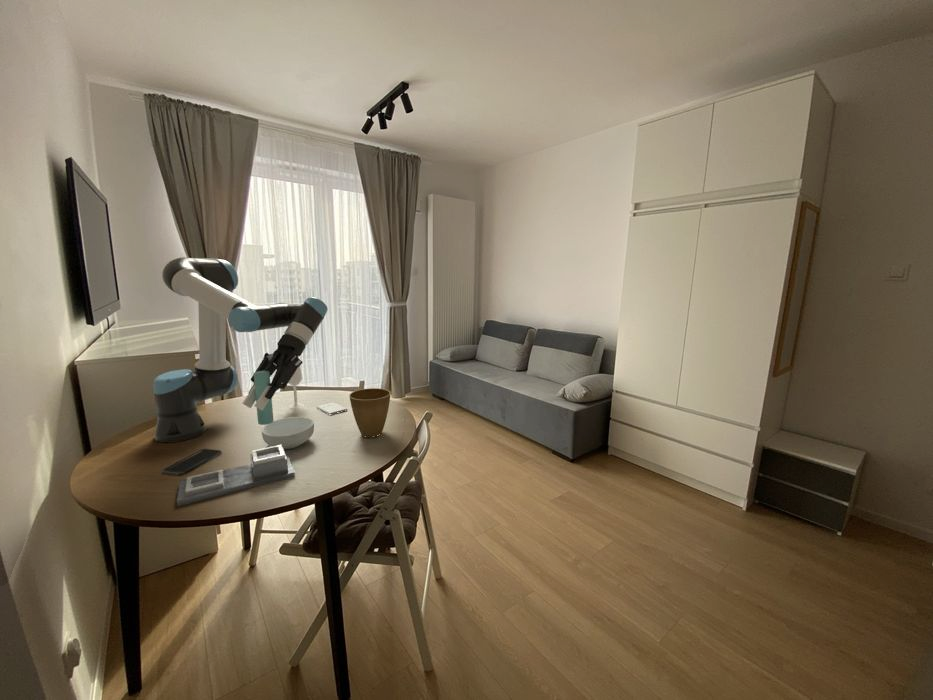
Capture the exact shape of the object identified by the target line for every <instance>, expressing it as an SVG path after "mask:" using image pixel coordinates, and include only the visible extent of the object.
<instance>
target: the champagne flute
mask: <svg viewBox="0 0 933 700" xmlns="http://www.w3.org/2000/svg"><path fill="white" fill-rule="evenodd" d="M299 357H300V356H298V358H299ZM299 359H300V358H299ZM302 380H303V375H302V369H301V365H300V366H299V367H298V368H297V370H296V371H295V373H294V374H293V376H292V378H291V379H290V381H289V382H288V385H290V386H292V387H293V389H292V390H293V401H294V402H293V403H292V404H290V405H289V406H288V407H289V408H299V409H301V408H300V407H302V408H304V407H305V405H304V404H303V403H301V402H298V394H297V393H298V392H297V386H298V385H299V384H300V383H301V382H302ZM303 406H304V407H303ZM289 408H288V409H289Z"/></svg>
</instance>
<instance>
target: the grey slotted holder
mask: <svg viewBox="0 0 933 700" xmlns="http://www.w3.org/2000/svg"><path fill="white" fill-rule="evenodd" d="M249 456H250V464H246V465H242V466H238V467H237V466H236V467H233V468H229V469H228V468H227V469H224V470H223V469H219V470H214V471H210V472H204V473H200V474H196V475H191V476H186V478H182V479H180V480H179V486H178V492H177V498H176V506H177V507H181V506H184V505H188V504H189V505H190V504H192V503H196V502H200V501H205V500H209V499H212V498H215V497H221V496H225V495H228V494H232V493H235V492H240V491H244V490H248V489H251V488H256V487H260V486H263V485H268V484H271V483H276V482H279V481H284V480H287V479H292V478H295V475H296V474H295V472H296V471H295V470H294V467H293V465H292V462H291V459H290V457H289V455H286V452H285V449H283V447H282V446H281V445H277V446H272V447H271V446H268V447H263V448H262V447H261V448H259V449H254V450H251V454H250V455H249Z"/></svg>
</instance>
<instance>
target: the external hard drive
mask: <svg viewBox="0 0 933 700" xmlns="http://www.w3.org/2000/svg"><path fill="white" fill-rule="evenodd" d="M317 408H318V409H317ZM316 409H317V410H319V409H320V410H319V411H321V410H322V411H321V412H323V411H324V412H323V413H325V412H326V413H328V414H333V415H335V414H334V413H337V412H341V411H345V410H347V411H348V408H346V407H344V406H342V405H340V404H338V403H336V402H329V403H324V404H320V405H317V406H316ZM345 412H346V411H345ZM326 413H325V414H326ZM341 413H342V412H341ZM328 414H327V415H328ZM337 414H338V413H337Z"/></svg>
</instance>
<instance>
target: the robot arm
mask: <svg viewBox="0 0 933 700" xmlns="http://www.w3.org/2000/svg"><path fill="white" fill-rule="evenodd" d="M162 280H163V283H164V284H165V286H166V287H167V288H168V289H169V290H170V291H172V292H173V293H175V294H176V295H179V296H181V297H189V298H191V299H193V300H194V301H196V302H197V303H198V307H197V308H198V343H199V344H198V347H199V348H198V353H199V354H198V355H199V356H198V357H199V360H197V361H196V362H195V363H194V371H192V370H191V369H187V368H186V369H184V368H183V369H182V368H181V369H177V370H176V369H175V370H171V371H167V372H164V373H162V374H160V375H158V376H156V377H155V378H154V379H153V381H152V382H153V383H152V386H153V390H152V391H153V392H152V393H153V395H154V402H155V406H156V407H155V408H156V414H157V420H156V424H155V429H154V433H153V434H154V435H153V436H154V440H155V441H156V442H158V441H159V442H158V443H164V442H168V443H177V442H181V441H182V442H183V441H187V440H190V439H194V438H196V437H198V436H200V435H202V434H203V433H205V431H206V424H205V422H204V420H203V419H202V416H201V415H200V413H199V411H198V405H197V403H200V402H203V401H207V400H210V399H214V398H218V397H222V396H224V395H226V394H227V395H228V394H229V393H231V392H232V391H234V390H235V388H236V387H237V383H238V374H237V373H236V369H235V368H234V367H233V366H232V365H231V363H230V361H228V360H227V358H226V357H227V355H226V354H227V343H226V342H227V341H226V340H227V332H226V331H227V327H226V326H227V323H226V322H227V319H228V323H229V324H230V326H231V327H232V329H233V330H234V331H235V332H237V333H253V332H257V331H263V330H270V329H277V328H284V327H285V328H286V327H287V328H286V330H285V331H284V334H282V336H280V339H279V340H278V341H277V348H276V349H275V350H274V351H273V352H272V353H269V352H266V353H264V355H263V358H262V360H261V362H260V363H259V365H258V366H257V368H256V370H255V371H254V372H258V371H269V372H270V378H271V377H272V376H273V378H272V379H271V381H270V383H269V385H270V386H271V387H270V386H267V387H266V388H265V390H264V391H263V393H262V394H261V396H260V398H259V399H258V401H257V402H256V394H255V383H254V373H253V374H252V376H251V378H250V381H251V382H252V383H253V385H252V386H251V388H250V389H249V391H248V394H247V395H246V397H245V399H244V400H243V401H242V404H243V405H245V406H246V407H247V408H248V409H249V408H250V409H252V407H253V405H254V407H256V409H257V408H258V409H260V410H262V411H263V409H264V408H265V406H266V405H267V403H268V401H269V400H270V399H271V398H272V399H273V397H274V395H275V394H276V392H277V391H279V390H284V389H285V388H286V387H287V385H289V383H288V382H289V381H290V379H291V378H292V376H293V374H294V373H295V371H296V370H297V368H298V367H299V366H300V367H301V366H302V364H303V361H302V360H301V359H300V358H298V357H300V356H302V354H303V353H304V351H305V349H306V346H307V345H308V344H309V342H310V340H312V338H313V336H314V334H315V333H316V331H317V330H318V328H319V326H320V324H321V323H322V322H323V320H324V319H325V316H326V314H327V313H328V306H327V304H326V303H325V302H324V301H323V300H321V299H320V298H317V297H315V296H309V297H308V298H306V299H305V301H304V302H303V303H286V302H280V303H279V302H278V303H273V304H264V305H262V304H261V305H256V304H253V303H251V302H250V301H247V299H246V300H245V299H243V298H242V297H240V296H238V295H236V294H235V293H233V292H232V291H234V290H235V289H237V287H238V285H239V276H238V273H237V270H236V269H235V267H234V266H233V264H232V263H230V262H229V261H227V260H225V259H220V258H211V257H210V258H209V257H208V258H206V257H183V256H182V257H178V258H174V259H172V260H170V261H169V262H168V263H166V265H165V266H164V268H163V269H162ZM273 374H274V375H273Z"/></svg>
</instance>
